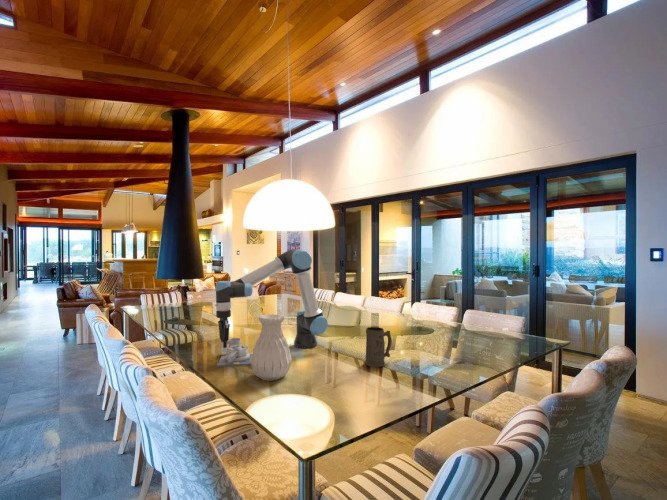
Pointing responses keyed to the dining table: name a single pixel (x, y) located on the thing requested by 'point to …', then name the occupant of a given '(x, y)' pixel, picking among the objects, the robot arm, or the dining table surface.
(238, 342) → the cup
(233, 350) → the grey lumpy block
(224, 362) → the housing
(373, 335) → the beer stein
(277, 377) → the vase
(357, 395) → the dining table surface
